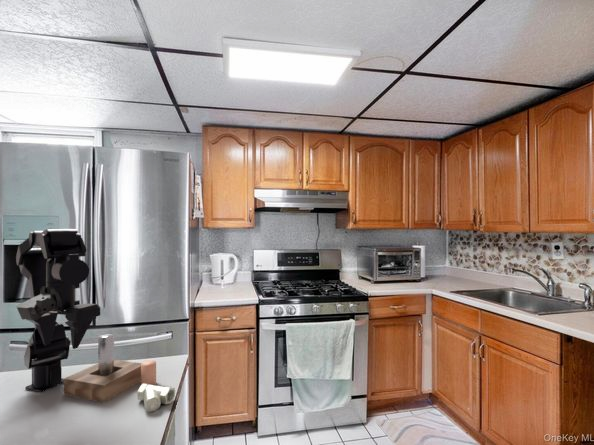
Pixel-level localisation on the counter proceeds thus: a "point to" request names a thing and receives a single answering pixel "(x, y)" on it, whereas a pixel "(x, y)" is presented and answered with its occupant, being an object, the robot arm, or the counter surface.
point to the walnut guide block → (102, 381)
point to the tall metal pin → (105, 355)
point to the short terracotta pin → (148, 372)
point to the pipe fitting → (155, 396)
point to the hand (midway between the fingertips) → (60, 346)
